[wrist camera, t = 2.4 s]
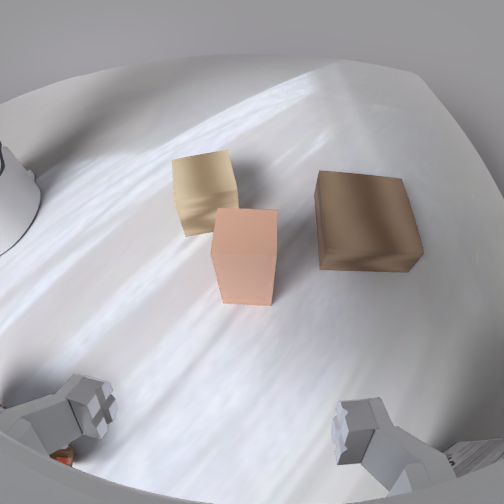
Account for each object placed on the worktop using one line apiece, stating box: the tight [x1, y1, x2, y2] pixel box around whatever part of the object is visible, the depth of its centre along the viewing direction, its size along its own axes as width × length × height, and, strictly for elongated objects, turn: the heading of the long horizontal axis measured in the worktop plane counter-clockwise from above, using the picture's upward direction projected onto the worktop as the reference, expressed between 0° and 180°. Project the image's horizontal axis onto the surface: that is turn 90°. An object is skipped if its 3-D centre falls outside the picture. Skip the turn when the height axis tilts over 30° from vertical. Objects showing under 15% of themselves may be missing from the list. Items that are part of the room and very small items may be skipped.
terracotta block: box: [211, 208, 278, 306], centre depth 26 cm, size 4×4×9 cm
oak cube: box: [172, 150, 239, 237], centre depth 32 cm, size 6×6×6 cm
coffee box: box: [443, 438, 504, 478], centre depth 10 cm, size 9×6×16 cm
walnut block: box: [314, 171, 424, 272], centre depth 31 cm, size 10×10×4 cm
